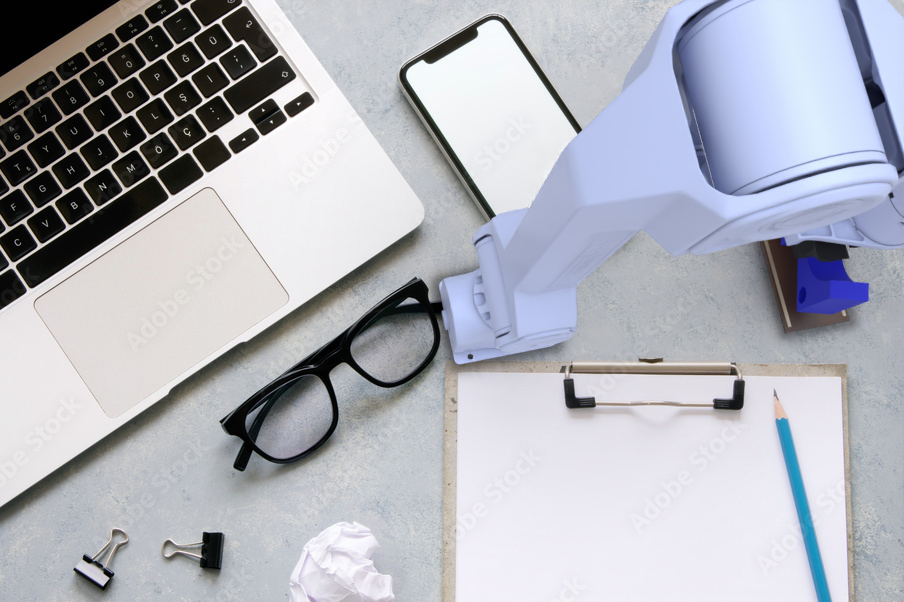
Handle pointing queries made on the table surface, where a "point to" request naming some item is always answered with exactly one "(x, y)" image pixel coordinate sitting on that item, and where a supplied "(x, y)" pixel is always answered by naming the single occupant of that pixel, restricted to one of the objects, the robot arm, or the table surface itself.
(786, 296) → the inlay
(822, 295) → the cable clip
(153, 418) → the table surface
